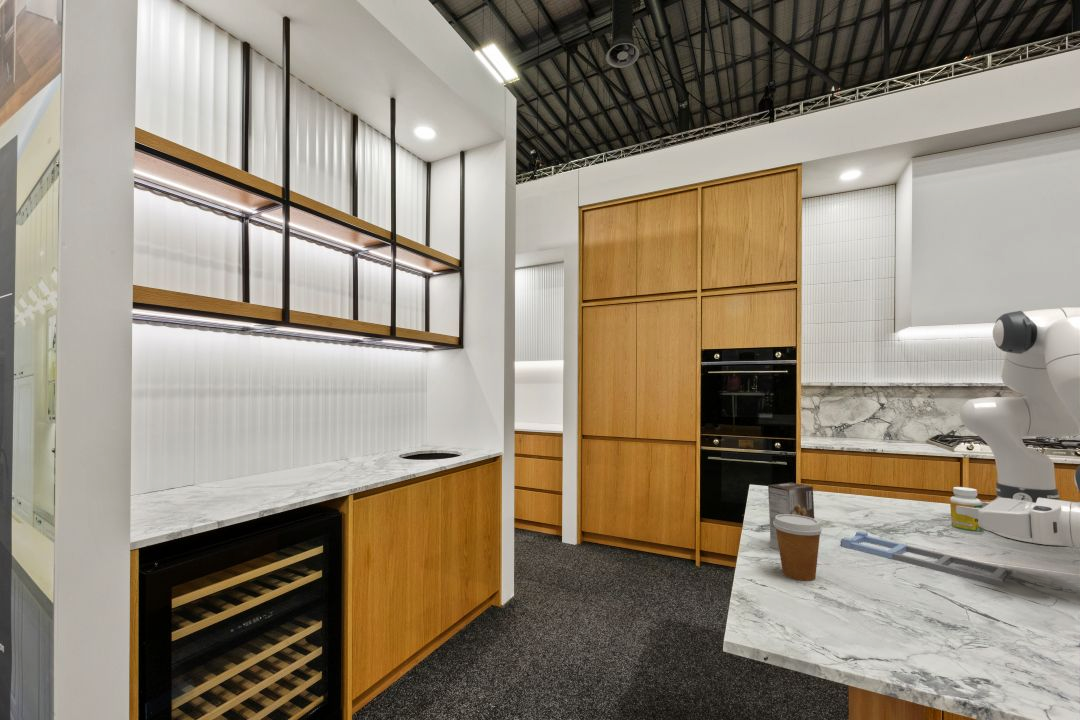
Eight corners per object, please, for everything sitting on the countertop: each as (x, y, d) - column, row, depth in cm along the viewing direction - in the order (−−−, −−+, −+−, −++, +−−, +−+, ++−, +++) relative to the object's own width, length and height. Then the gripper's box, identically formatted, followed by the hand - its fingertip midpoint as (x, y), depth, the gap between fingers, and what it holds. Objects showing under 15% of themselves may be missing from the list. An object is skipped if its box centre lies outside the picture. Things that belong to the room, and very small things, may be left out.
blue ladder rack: (857, 538, 124) (857, 530, 124) (1013, 574, 100) (1012, 565, 100) (839, 546, 118) (839, 538, 118) (1001, 587, 93) (1000, 577, 94)
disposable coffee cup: (819, 588, 93) (816, 528, 93) (768, 575, 99) (767, 519, 100) (828, 574, 100) (826, 519, 100) (781, 563, 106) (779, 511, 107)
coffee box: (793, 542, 121) (791, 481, 122) (816, 550, 115) (814, 486, 116) (769, 547, 117) (767, 484, 118) (792, 555, 111) (789, 489, 112)
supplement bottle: (956, 526, 106) (953, 485, 107) (987, 532, 101) (984, 489, 102) (948, 530, 103) (945, 487, 104) (980, 536, 98) (977, 492, 99)
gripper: (1058, 498, 98) (972, 487, 109) (1041, 513, 86) (946, 498, 98) (1060, 527, 98) (973, 513, 109) (1043, 546, 86) (948, 528, 97)
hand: (960, 506), depth 103 cm, fingers closed on supplement bottle, 5 cm apart
